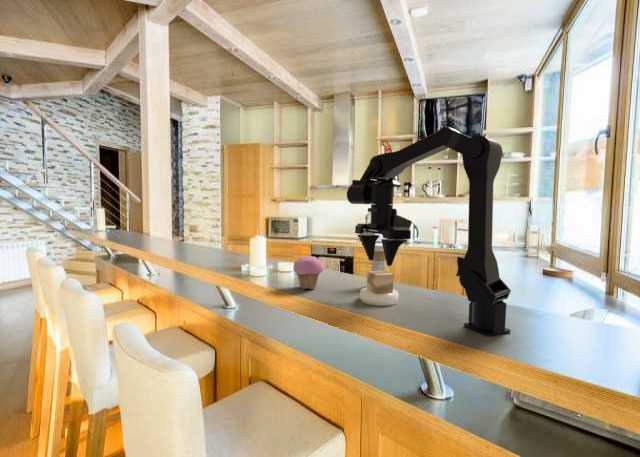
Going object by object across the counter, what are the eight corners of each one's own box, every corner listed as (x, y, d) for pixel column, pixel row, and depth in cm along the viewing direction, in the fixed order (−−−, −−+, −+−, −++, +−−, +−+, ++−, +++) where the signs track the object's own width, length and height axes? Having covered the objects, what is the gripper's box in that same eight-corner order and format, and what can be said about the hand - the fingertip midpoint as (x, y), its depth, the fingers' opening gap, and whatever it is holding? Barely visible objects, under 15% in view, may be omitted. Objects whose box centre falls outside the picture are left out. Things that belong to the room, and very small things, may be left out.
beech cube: (392, 292, 90) (393, 274, 89) (376, 294, 88) (376, 275, 87) (382, 288, 94) (383, 270, 94) (366, 289, 92) (367, 271, 92)
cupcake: (321, 285, 107) (321, 254, 107) (323, 292, 99) (324, 258, 98) (293, 285, 107) (293, 253, 106) (292, 292, 98) (293, 257, 97)
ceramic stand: (405, 303, 88) (406, 294, 88) (372, 307, 85) (372, 297, 85) (384, 294, 98) (385, 285, 97) (353, 297, 94) (354, 288, 94)
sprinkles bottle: (376, 284, 110) (378, 243, 109) (387, 287, 107) (389, 244, 106) (367, 286, 107) (368, 244, 107) (378, 289, 104) (379, 245, 103)
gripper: (430, 205, 84) (427, 267, 85) (388, 205, 101) (386, 256, 102) (391, 204, 80) (389, 269, 81) (355, 204, 97) (353, 258, 98)
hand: (379, 263), depth 91 cm, fingers open, 9 cm apart
